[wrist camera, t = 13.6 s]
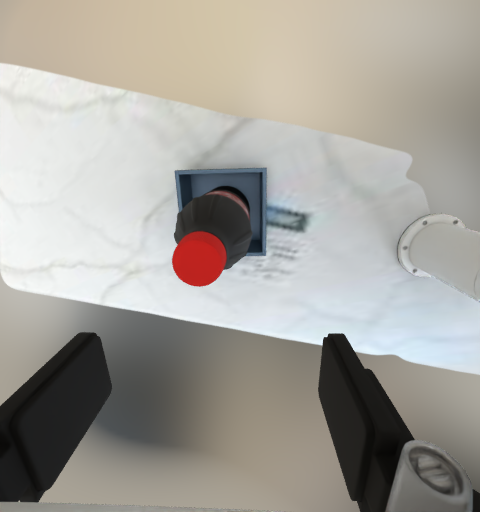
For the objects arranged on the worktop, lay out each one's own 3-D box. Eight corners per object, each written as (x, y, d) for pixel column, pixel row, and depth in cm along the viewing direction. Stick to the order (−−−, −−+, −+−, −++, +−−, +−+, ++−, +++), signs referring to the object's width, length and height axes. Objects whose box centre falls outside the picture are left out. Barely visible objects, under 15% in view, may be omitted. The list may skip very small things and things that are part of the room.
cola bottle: (228, 174, 44) (196, 179, 16) (258, 210, 46) (278, 271, 18) (195, 206, 46) (114, 259, 18) (225, 239, 48) (195, 334, 20)
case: (262, 168, 44) (266, 167, 36) (262, 241, 49) (266, 255, 41) (187, 170, 45) (174, 170, 37) (194, 243, 49) (183, 257, 41)
